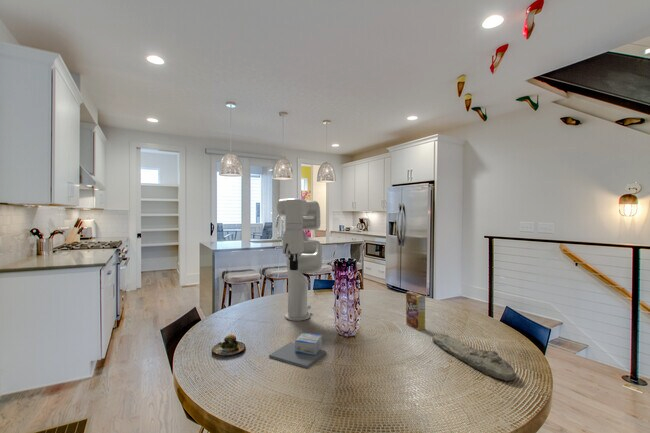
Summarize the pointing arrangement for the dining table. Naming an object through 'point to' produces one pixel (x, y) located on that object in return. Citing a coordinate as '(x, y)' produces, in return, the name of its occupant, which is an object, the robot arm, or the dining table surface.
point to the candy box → (415, 310)
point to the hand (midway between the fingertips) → (293, 269)
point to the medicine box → (308, 343)
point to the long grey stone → (476, 357)
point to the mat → (296, 356)
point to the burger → (229, 346)
